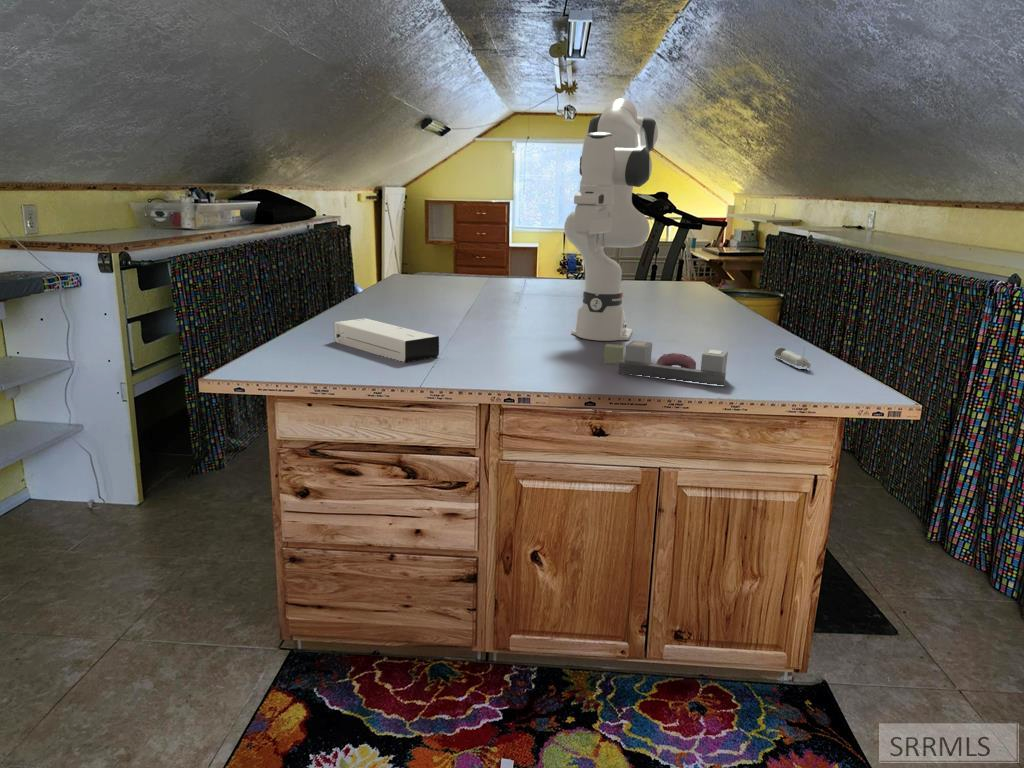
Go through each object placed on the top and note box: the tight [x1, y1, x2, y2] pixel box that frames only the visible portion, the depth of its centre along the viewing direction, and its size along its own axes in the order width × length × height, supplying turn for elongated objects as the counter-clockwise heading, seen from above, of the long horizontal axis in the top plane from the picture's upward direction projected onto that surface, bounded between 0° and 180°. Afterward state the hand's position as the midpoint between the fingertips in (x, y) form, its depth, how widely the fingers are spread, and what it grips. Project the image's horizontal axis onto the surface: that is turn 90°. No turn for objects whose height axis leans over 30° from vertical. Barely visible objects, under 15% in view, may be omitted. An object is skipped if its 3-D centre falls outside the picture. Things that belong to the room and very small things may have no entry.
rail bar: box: [618, 359, 727, 385], centre depth 180 cm, size 2×26×3 cm, turn 65°
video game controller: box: [656, 352, 697, 369], centre depth 184 cm, size 10×5×7 cm, turn 71°
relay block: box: [603, 343, 626, 364], centre depth 198 cm, size 4×5×4 cm
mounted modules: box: [624, 340, 729, 374], centre depth 184 cm, size 7×24×7 cm, turn 65°
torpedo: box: [773, 346, 813, 370], centre depth 200 cm, size 18×5×6 cm, turn 7°
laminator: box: [333, 318, 440, 363], centre depth 204 cm, size 34×12×6 cm, turn 45°
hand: (593, 250), depth 195 cm, fingers closed
